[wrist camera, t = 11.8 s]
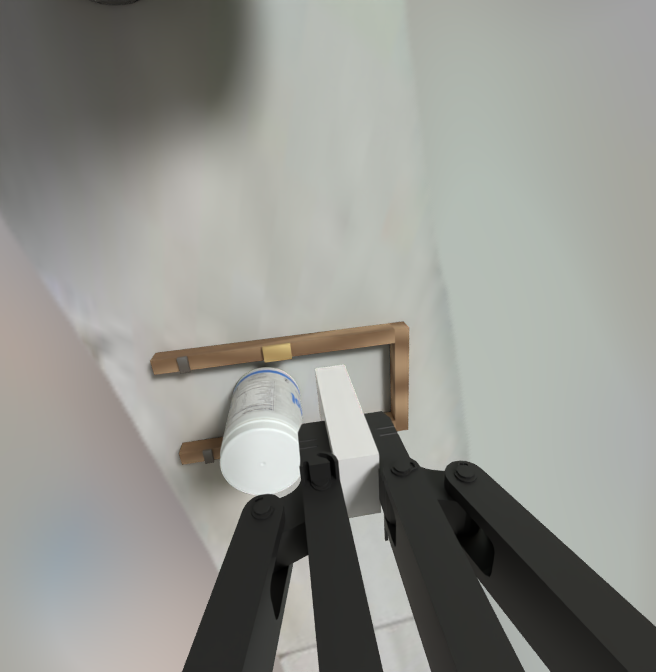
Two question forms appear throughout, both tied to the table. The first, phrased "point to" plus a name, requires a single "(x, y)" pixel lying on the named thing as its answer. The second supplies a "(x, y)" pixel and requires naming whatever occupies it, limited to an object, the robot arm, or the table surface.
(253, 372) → the supplement tub
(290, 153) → the table surface
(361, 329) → the beam track
